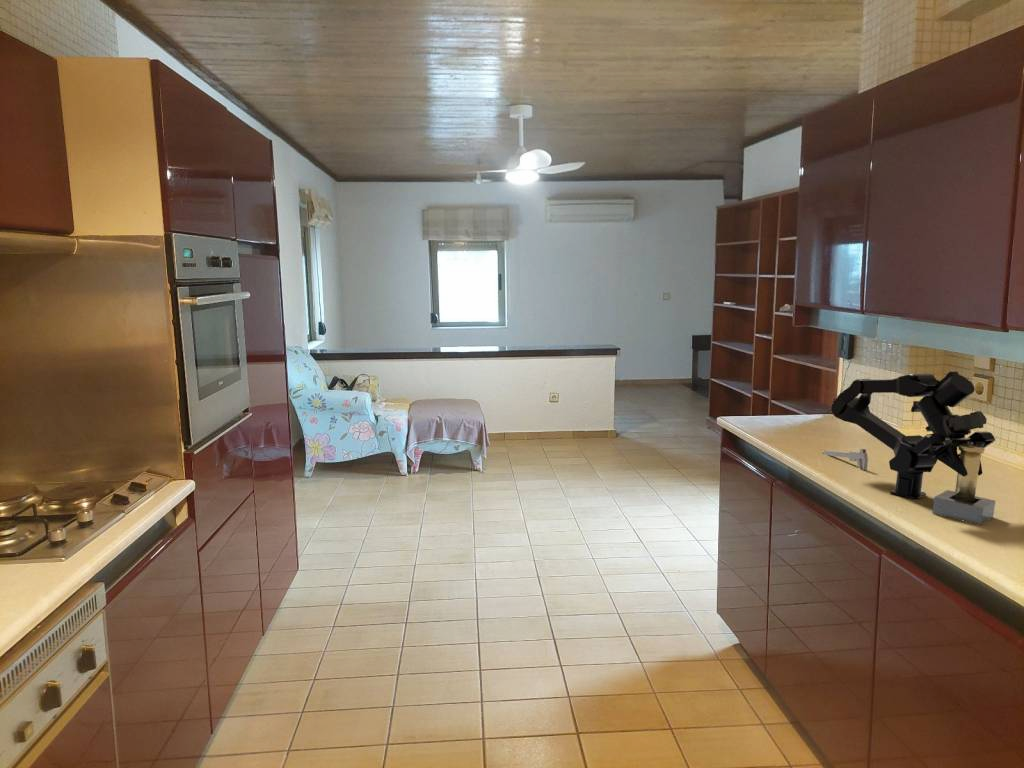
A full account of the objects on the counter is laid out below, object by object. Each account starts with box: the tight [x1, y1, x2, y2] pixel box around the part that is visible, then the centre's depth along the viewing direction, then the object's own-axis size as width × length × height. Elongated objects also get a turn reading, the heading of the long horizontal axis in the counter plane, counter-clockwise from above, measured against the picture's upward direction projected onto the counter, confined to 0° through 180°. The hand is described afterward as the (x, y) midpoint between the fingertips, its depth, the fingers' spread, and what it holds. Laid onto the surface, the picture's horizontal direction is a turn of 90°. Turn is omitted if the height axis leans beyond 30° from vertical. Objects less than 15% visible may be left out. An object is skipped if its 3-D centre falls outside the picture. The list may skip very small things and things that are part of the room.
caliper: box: [821, 448, 869, 471], centre depth 215 cm, size 20×1×6 cm, turn 10°
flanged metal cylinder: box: [954, 444, 986, 503], centre depth 167 cm, size 5×5×13 cm
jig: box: [931, 489, 996, 526], centre depth 168 cm, size 9×10×4 cm
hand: (973, 475), depth 165 cm, fingers closed on flanged metal cylinder, 4 cm apart
